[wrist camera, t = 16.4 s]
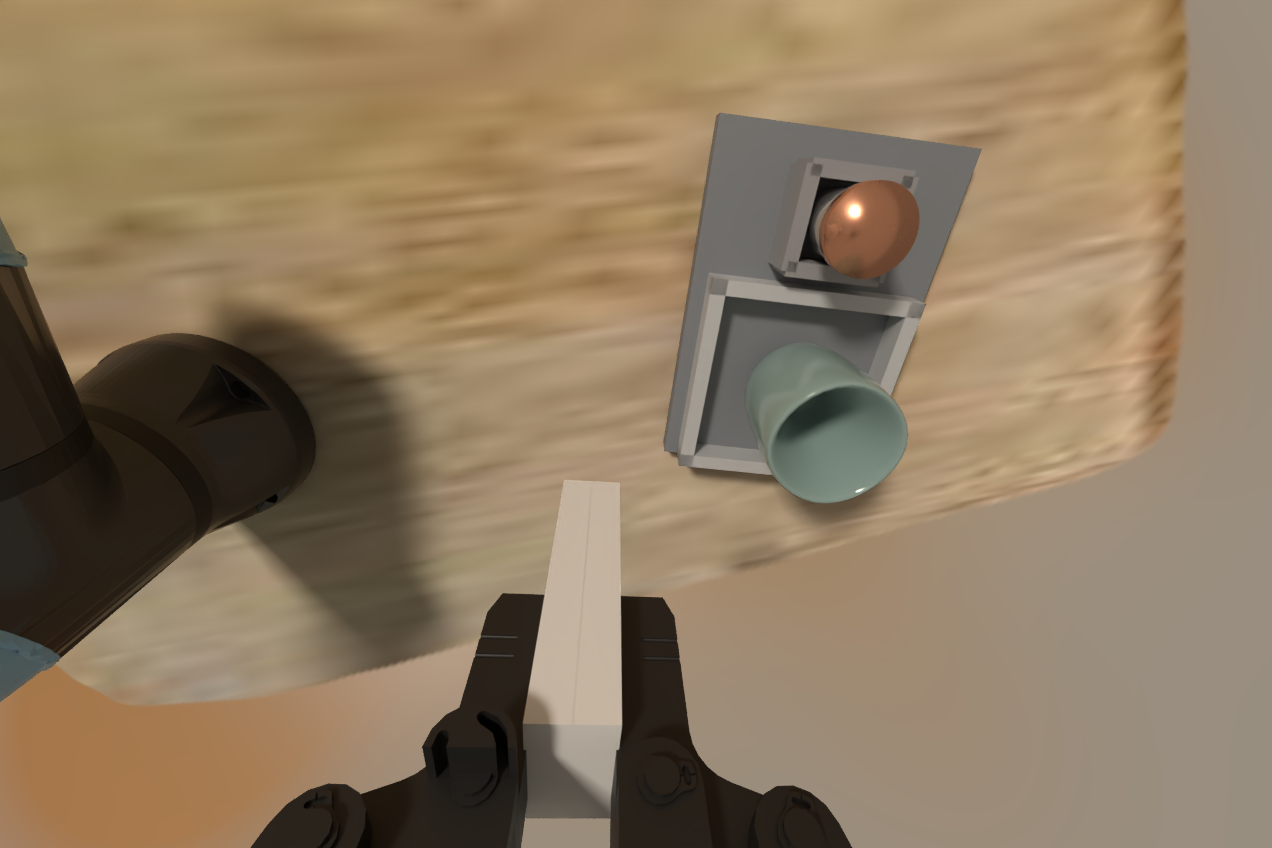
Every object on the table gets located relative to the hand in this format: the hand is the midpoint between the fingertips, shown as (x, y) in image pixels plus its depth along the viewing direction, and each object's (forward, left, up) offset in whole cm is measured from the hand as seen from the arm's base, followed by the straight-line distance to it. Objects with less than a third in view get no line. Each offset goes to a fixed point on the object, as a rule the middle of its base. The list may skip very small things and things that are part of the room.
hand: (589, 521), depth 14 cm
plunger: (+13, +8, -22) cm, 27 cm away
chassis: (+13, +1, -24) cm, 27 cm away
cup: (+13, -3, -23) cm, 26 cm away
